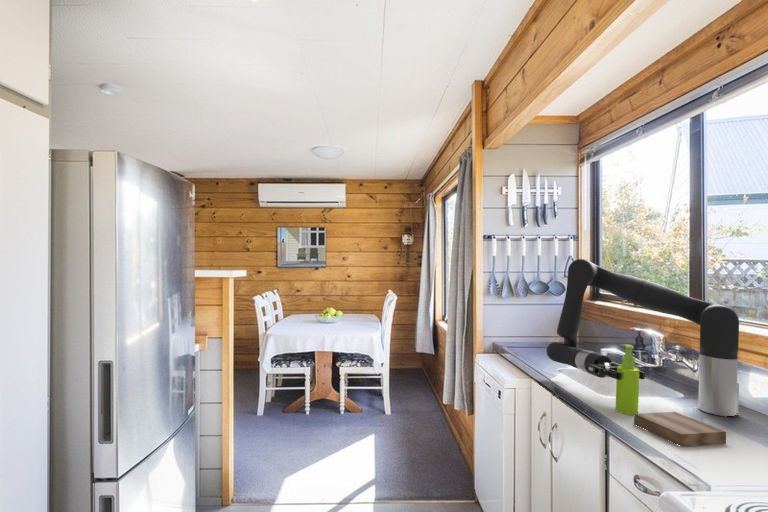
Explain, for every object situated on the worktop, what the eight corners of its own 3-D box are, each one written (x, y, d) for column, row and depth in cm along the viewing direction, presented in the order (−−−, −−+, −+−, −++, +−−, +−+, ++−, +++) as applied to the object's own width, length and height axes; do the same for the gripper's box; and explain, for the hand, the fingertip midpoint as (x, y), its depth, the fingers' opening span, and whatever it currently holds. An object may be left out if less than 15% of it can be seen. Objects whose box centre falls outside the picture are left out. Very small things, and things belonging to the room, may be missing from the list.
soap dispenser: (632, 408, 128) (634, 343, 129) (641, 416, 121) (643, 347, 122) (611, 406, 129) (613, 342, 130) (619, 413, 123) (621, 346, 123)
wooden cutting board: (674, 422, 117) (675, 411, 117) (725, 443, 104) (726, 431, 104) (633, 424, 114) (634, 413, 114) (681, 446, 100) (681, 434, 100)
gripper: (575, 352, 138) (612, 363, 122) (611, 352, 141) (652, 363, 125) (574, 374, 138) (611, 389, 122) (610, 374, 141) (651, 388, 125)
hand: (632, 376), depth 124 cm, fingers open, 8 cm apart
